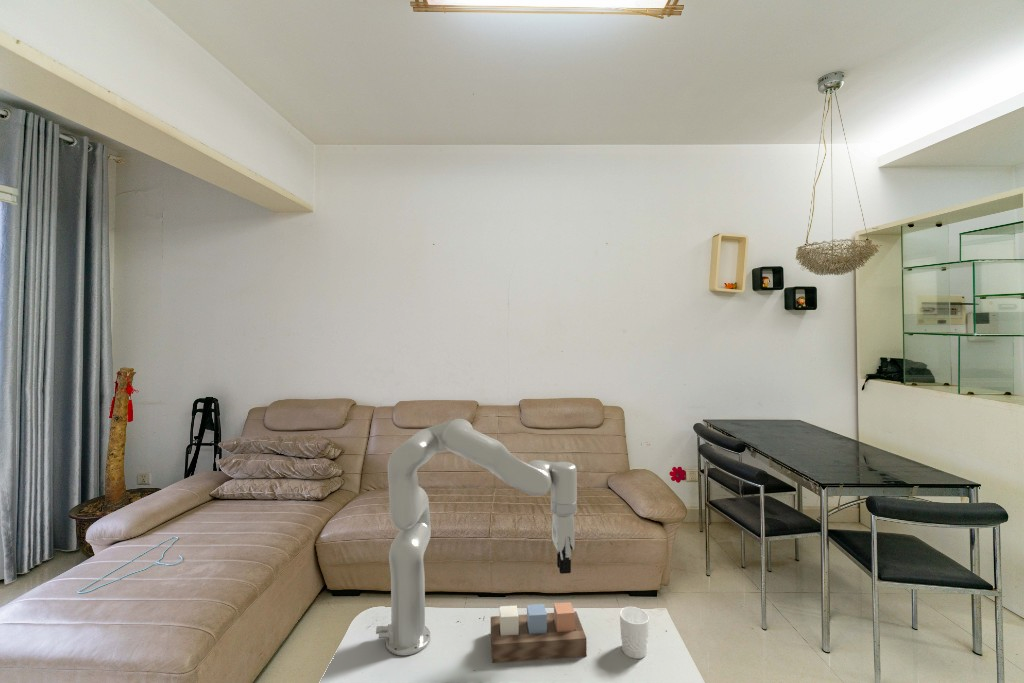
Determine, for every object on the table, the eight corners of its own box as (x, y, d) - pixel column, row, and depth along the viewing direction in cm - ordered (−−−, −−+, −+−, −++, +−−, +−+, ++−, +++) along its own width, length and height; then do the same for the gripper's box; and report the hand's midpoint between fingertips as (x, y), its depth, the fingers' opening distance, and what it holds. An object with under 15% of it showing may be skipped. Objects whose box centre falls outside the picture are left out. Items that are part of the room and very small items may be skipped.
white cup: (650, 645, 125) (650, 610, 125) (646, 664, 118) (646, 627, 118) (622, 637, 128) (622, 603, 128) (617, 655, 121) (617, 619, 121)
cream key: (500, 638, 122) (500, 617, 122) (499, 627, 127) (499, 606, 127) (518, 637, 123) (518, 616, 123) (516, 626, 128) (516, 605, 128)
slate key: (529, 636, 123) (529, 615, 123) (527, 625, 128) (526, 604, 128) (546, 635, 123) (546, 614, 123) (543, 624, 128) (543, 603, 128)
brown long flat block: (492, 662, 118) (492, 644, 118) (490, 633, 130) (490, 616, 130) (586, 656, 121) (586, 638, 121) (576, 627, 133) (576, 611, 133)
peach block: (557, 635, 124) (557, 613, 124) (554, 623, 129) (553, 603, 129) (574, 633, 124) (574, 612, 124) (570, 622, 129) (570, 602, 129)
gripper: (546, 496, 134) (546, 556, 134) (556, 518, 118) (556, 586, 118) (570, 495, 135) (570, 555, 135) (583, 516, 119) (583, 584, 119)
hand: (563, 569), depth 126 cm, fingers open, 2 cm apart
